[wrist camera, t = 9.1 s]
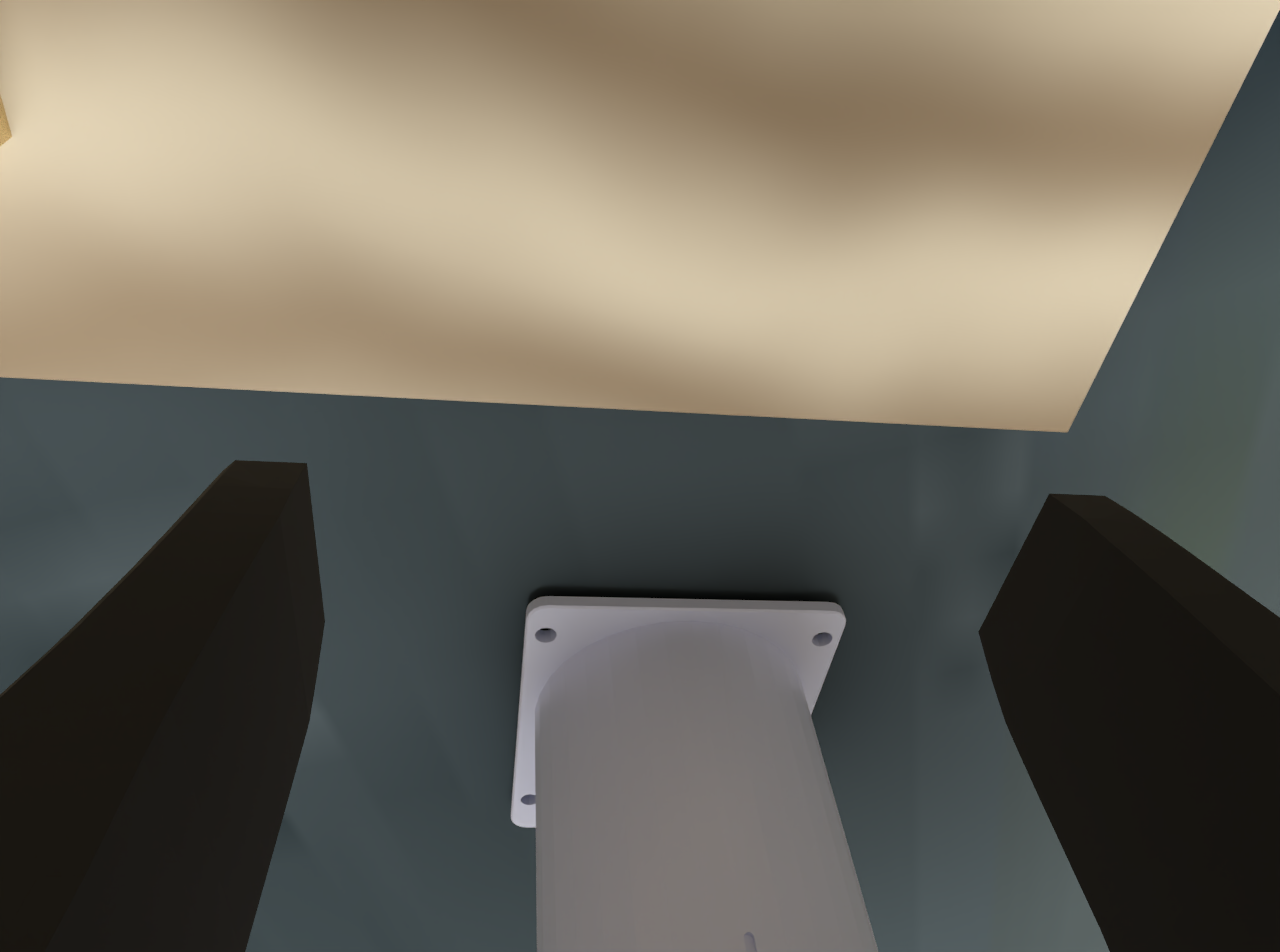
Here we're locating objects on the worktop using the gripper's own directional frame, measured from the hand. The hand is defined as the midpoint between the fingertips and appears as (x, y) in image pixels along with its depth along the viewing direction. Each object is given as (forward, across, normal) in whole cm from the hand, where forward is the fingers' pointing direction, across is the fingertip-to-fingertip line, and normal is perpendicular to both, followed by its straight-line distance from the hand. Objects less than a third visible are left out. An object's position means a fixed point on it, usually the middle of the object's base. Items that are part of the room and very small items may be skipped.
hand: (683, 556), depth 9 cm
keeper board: (+9, +4, -3) cm, 11 cm away
